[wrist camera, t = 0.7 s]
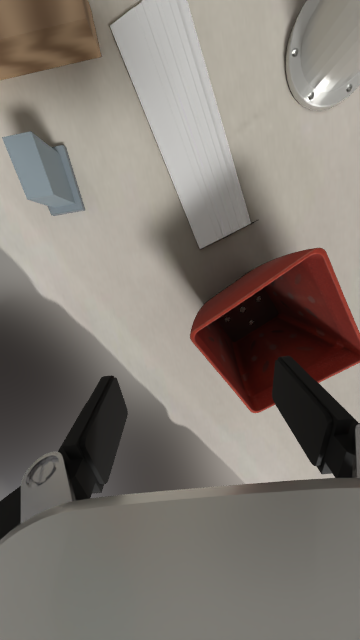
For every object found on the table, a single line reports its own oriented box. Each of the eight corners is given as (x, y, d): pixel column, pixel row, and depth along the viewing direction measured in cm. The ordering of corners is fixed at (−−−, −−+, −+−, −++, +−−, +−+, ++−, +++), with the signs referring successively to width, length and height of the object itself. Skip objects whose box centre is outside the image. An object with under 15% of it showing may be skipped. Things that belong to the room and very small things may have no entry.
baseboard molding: (190, -21, 24) (113, 38, 26) (191, -55, 21) (105, 13, 23) (256, 220, 34) (199, 249, 36) (263, 218, 32) (200, 249, 34)
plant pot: (182, 300, 40) (186, 336, 24) (259, 244, 36) (324, 243, 20) (227, 358, 46) (253, 416, 30) (298, 315, 42) (370, 357, 26)
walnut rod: (91, 11, 24) (71, -44, 20) (102, 58, 26) (86, 18, 21) (-71, 51, 26) (-126, 8, 21) (-51, 94, 27) (-98, 63, 23)
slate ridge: (66, 147, 29) (34, 119, 23) (85, 210, 33) (62, 201, 26) (31, 154, 30) (-10, 128, 23) (54, 215, 33) (24, 208, 27)
